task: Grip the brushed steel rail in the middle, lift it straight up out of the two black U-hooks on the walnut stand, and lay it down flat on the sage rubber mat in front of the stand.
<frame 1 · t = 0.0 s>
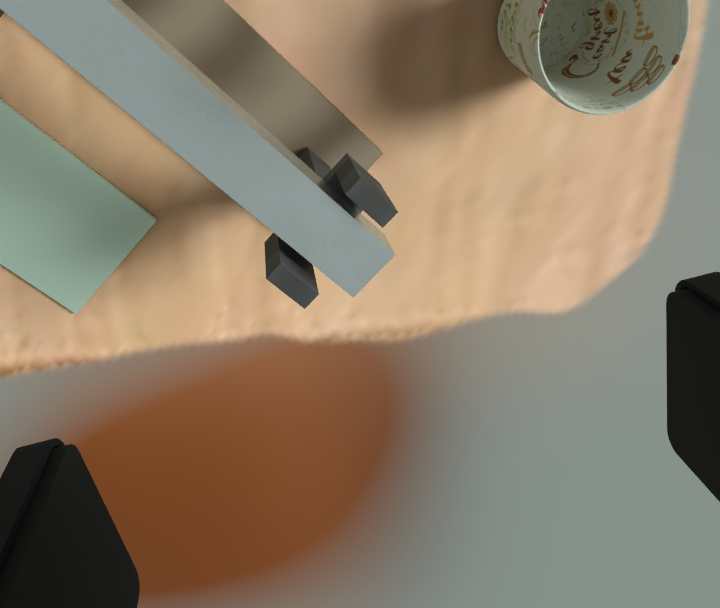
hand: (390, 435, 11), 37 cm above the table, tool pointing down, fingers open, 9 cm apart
rail: (181, 96, 32), point 12 cm above the table, touching hook stand
hook stand: (199, 67, 43), on the table
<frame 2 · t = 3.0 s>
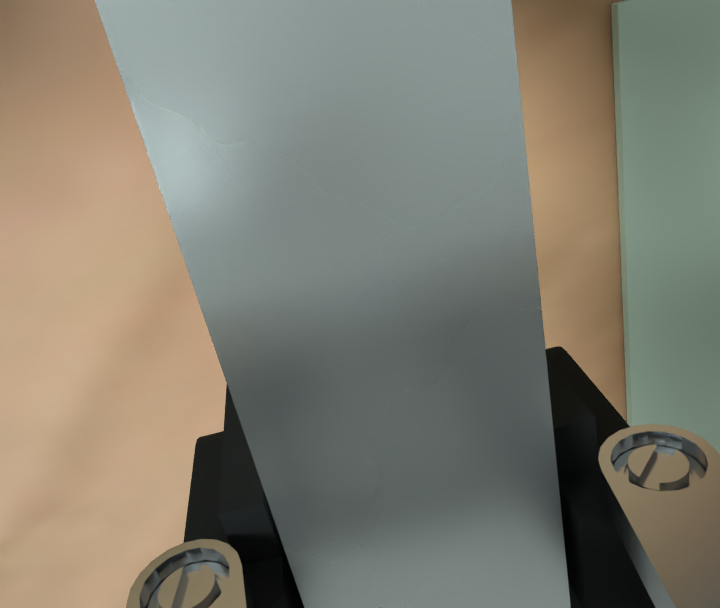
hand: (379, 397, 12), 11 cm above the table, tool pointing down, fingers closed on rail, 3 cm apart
rail: (393, 442, 11), point 12 cm above the table, touching gripper, hook stand
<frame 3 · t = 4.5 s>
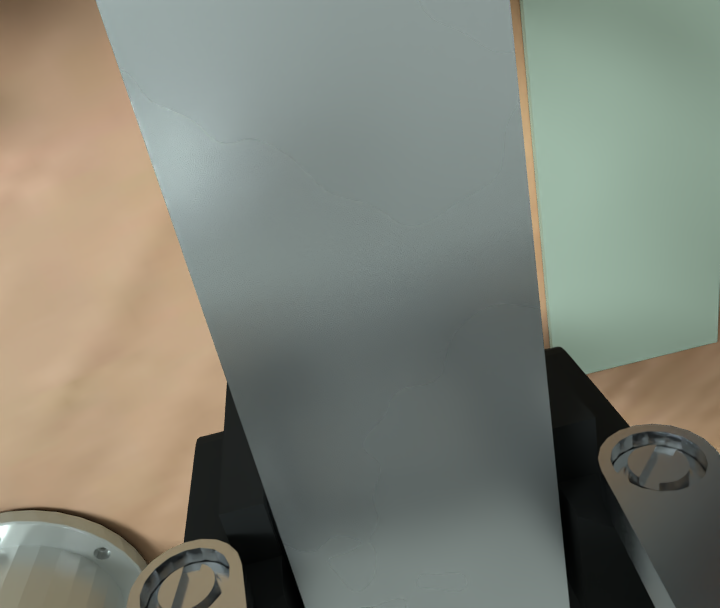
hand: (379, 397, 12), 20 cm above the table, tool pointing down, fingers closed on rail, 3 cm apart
mat: (628, 182, 33), on the table
rail: (392, 441, 11), point 22 cm above the table, touching gripper
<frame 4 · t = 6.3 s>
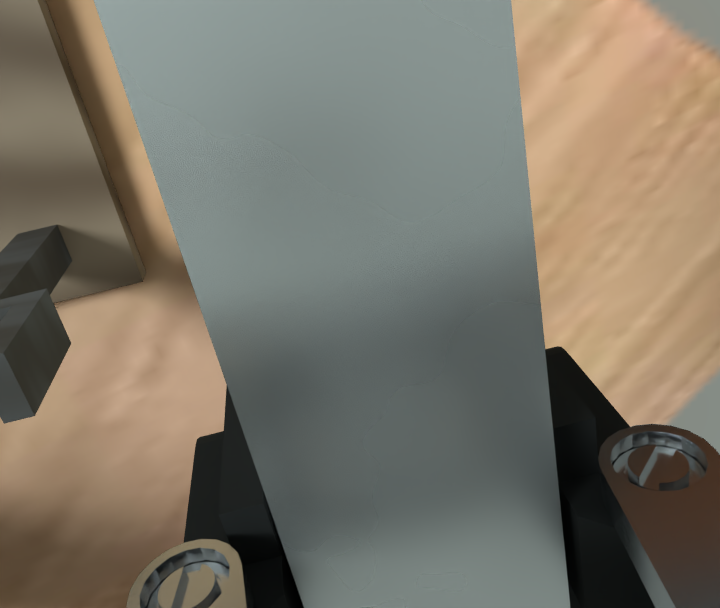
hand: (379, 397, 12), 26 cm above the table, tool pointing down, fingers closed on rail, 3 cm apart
rail: (392, 440, 11), point 27 cm above the table, touching gripper
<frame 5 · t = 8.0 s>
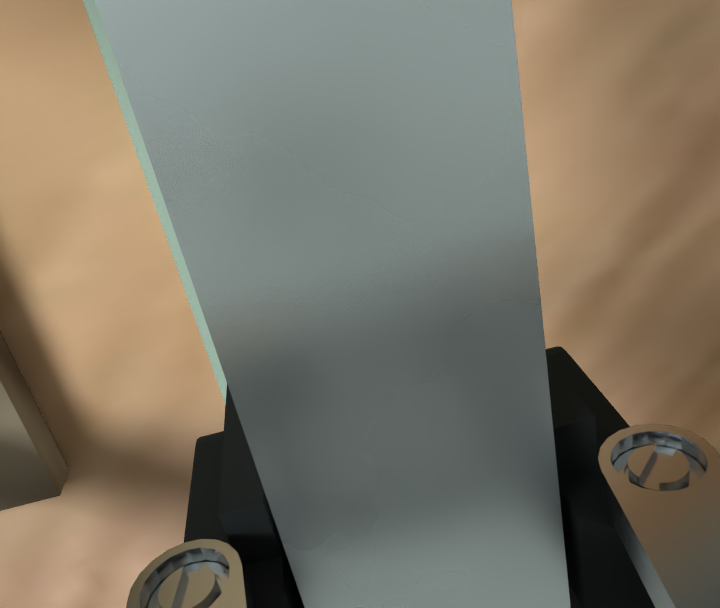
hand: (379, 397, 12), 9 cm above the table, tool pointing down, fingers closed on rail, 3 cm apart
mat: (330, 224, 20), on the table
rail: (392, 439, 11), point 10 cm above the table, touching gripper
when the fingers open (2 cm above the table, at t = 9.6 s): rail drops 2 cm, resting on mat.
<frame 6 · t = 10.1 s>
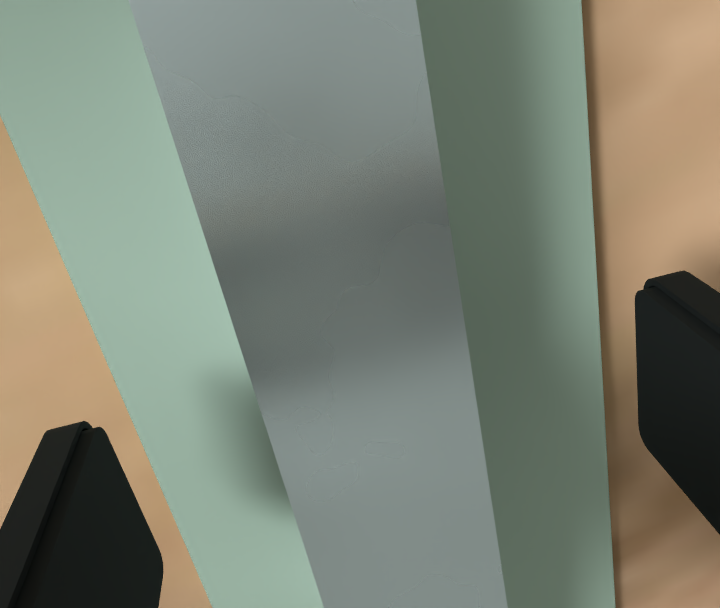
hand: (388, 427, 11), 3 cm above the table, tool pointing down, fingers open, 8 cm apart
mat: (364, 349, 13), on the table
rail: (356, 362, 13), resting on mat
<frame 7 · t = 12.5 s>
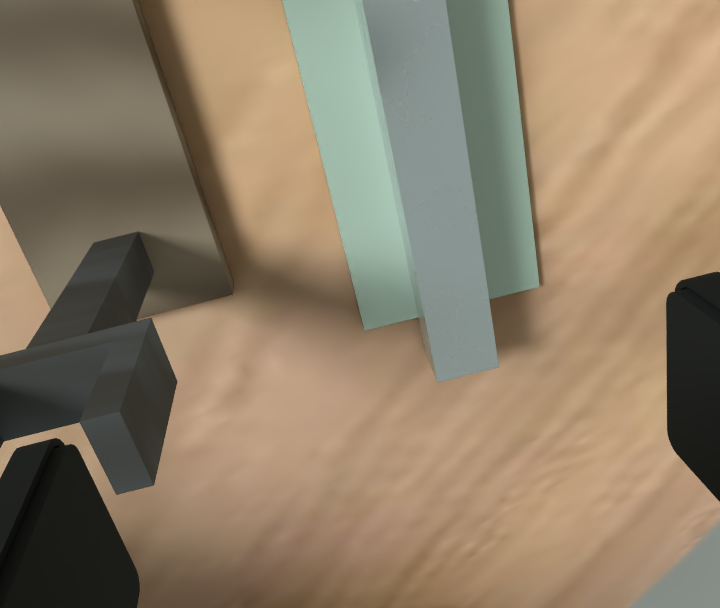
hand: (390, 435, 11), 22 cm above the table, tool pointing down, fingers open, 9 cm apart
mat: (414, 108, 30), on the table
rail: (411, 110, 30), resting on mat
hook stand: (46, 43, 28), on the table
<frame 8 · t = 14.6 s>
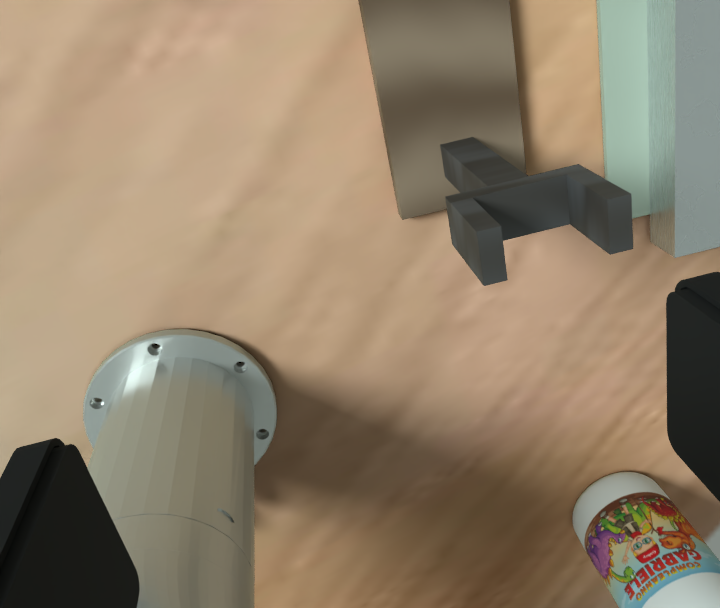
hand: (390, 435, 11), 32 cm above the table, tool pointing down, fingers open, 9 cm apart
milk bottle: (613, 504, 57), on the table
mat: (671, 49, 42), on the table
rail: (671, 51, 41), resting on mat
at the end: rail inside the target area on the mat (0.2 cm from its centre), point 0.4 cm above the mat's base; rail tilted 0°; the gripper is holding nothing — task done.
